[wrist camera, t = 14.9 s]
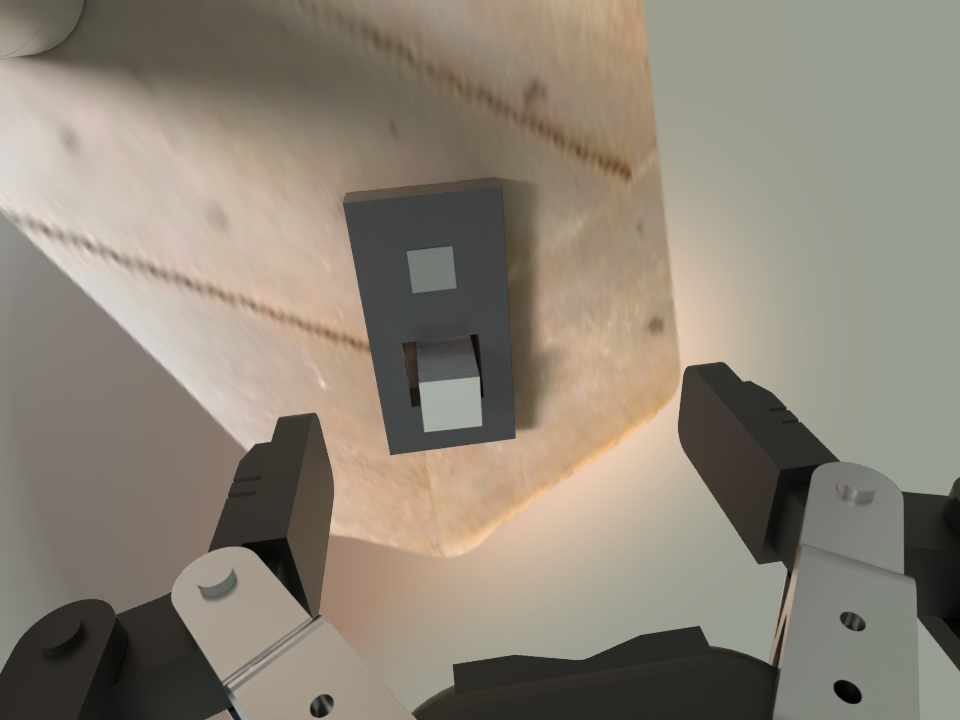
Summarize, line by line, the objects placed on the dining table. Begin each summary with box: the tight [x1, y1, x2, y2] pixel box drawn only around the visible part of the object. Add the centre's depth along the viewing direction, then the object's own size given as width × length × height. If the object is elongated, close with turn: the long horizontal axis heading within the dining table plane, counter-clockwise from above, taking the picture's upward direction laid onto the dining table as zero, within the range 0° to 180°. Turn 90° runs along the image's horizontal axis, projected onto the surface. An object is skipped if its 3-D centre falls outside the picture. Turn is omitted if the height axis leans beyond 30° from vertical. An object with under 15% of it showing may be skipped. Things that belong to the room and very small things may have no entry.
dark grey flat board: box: [343, 178, 516, 455], centre depth 44 cm, size 10×20×3 cm, turn 4°
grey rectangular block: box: [416, 335, 482, 432], centre depth 44 cm, size 4×4×7 cm
